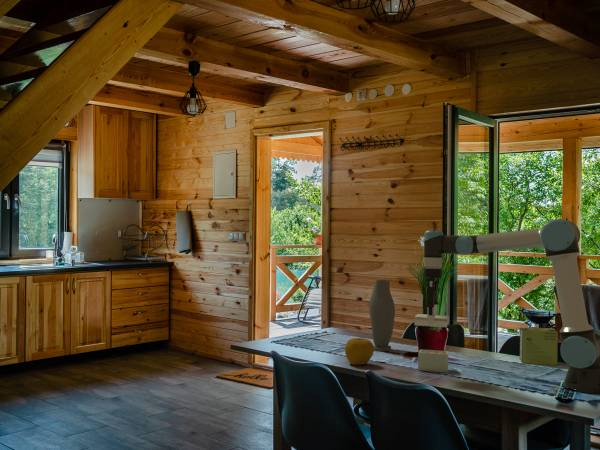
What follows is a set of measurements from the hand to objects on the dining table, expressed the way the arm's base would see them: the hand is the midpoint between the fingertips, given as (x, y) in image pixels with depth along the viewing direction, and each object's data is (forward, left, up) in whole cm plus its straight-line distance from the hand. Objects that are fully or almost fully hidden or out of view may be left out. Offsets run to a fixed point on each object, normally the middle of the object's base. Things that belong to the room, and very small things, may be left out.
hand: (432, 321), depth 262 cm
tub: (+12, 0, -22) cm, 25 cm away
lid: (0, 0, +1) cm, 1 cm away
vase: (+55, +29, -22) cm, 66 cm away
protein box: (+49, -45, -22) cm, 70 cm away
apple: (+11, +32, -22) cm, 40 cm away
